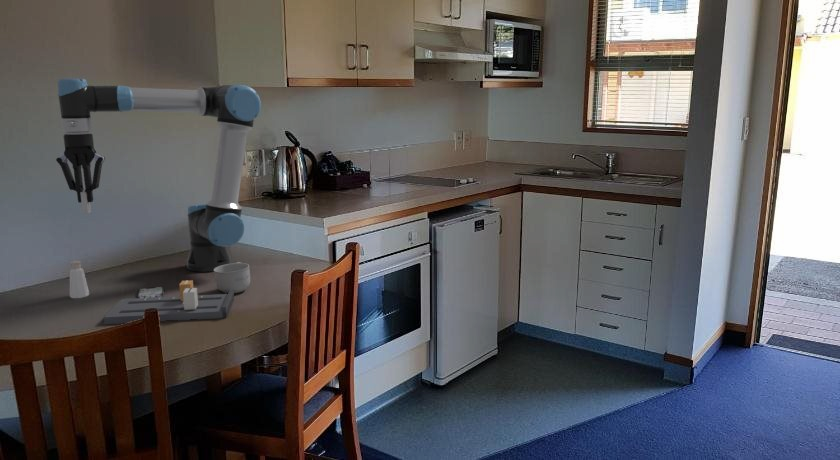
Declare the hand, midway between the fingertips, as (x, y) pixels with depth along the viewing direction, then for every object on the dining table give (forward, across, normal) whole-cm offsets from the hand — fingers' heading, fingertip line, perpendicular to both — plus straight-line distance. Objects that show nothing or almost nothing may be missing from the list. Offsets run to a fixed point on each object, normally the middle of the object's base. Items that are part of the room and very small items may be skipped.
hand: (87, 213), depth 191 cm
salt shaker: (+27, -6, +3) cm, 27 cm away
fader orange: (+24, +29, -13) cm, 40 cm away
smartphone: (+27, +16, -2) cm, 32 cm away
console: (+26, +26, -17) cm, 41 cm away
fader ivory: (+24, +32, -21) cm, 45 cm away
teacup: (+27, +41, +2) cm, 49 cm away
